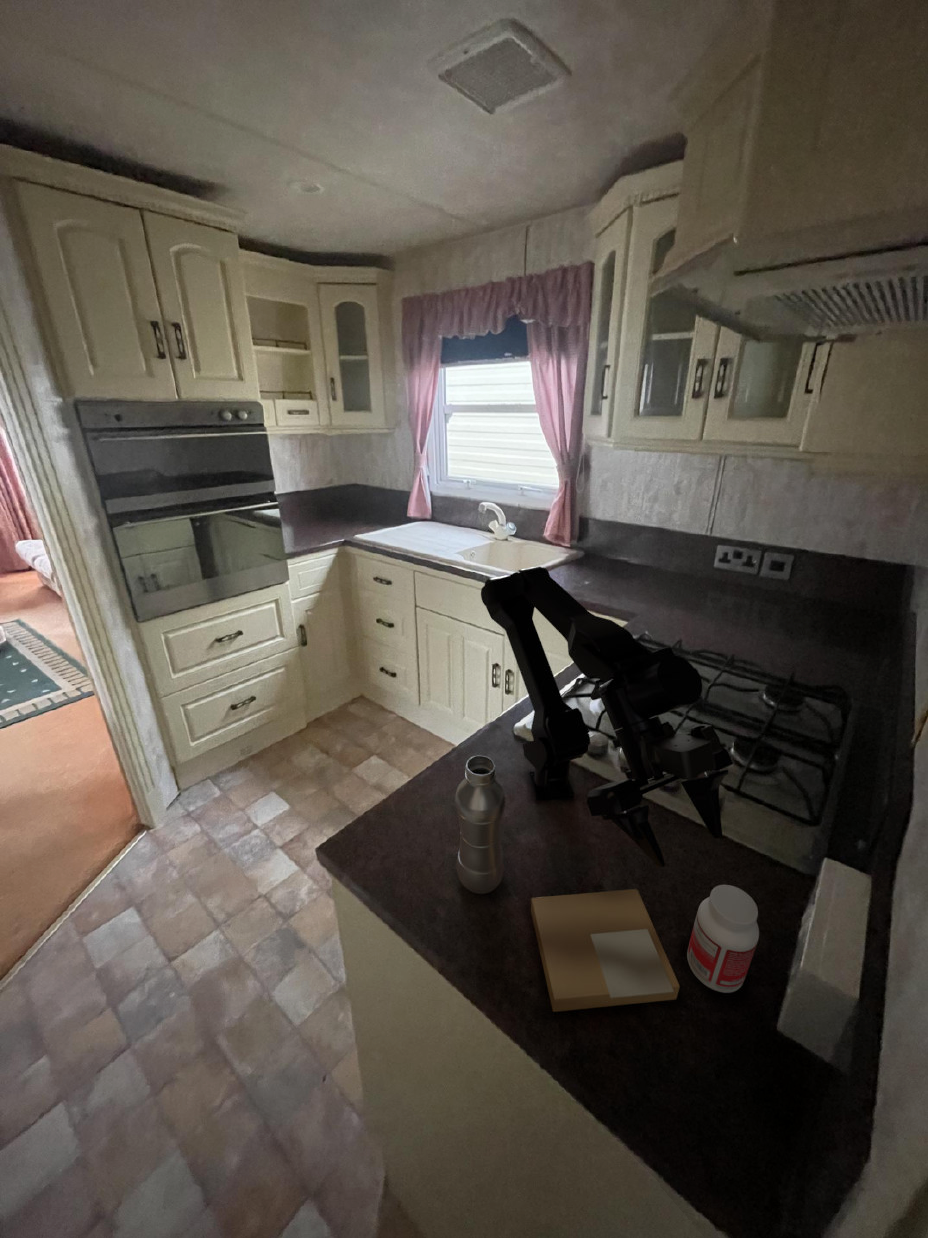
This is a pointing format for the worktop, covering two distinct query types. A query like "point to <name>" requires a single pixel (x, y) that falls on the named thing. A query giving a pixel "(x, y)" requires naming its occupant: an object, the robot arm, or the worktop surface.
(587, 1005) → the labeled cardboard parcel
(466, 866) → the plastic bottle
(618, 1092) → the worktop surface
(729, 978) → the pill bottle
